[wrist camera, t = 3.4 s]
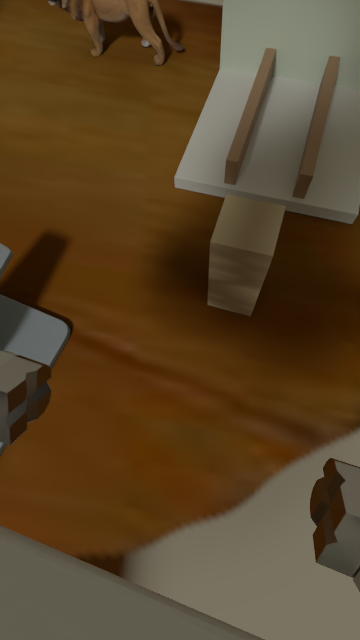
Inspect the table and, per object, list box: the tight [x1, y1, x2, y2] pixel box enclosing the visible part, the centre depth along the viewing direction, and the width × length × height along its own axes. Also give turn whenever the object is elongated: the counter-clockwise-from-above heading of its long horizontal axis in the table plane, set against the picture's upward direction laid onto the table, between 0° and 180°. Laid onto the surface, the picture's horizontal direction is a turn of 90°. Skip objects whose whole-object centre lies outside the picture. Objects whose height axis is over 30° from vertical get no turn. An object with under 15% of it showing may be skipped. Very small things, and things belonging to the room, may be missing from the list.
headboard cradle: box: [174, 0, 360, 224], centre depth 26 cm, size 16×20×15 cm
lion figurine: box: [48, 0, 183, 65], centre depth 35 cm, size 15×5×9 cm, turn 80°
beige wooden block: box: [207, 194, 286, 316], centre depth 22 cm, size 4×4×8 cm
